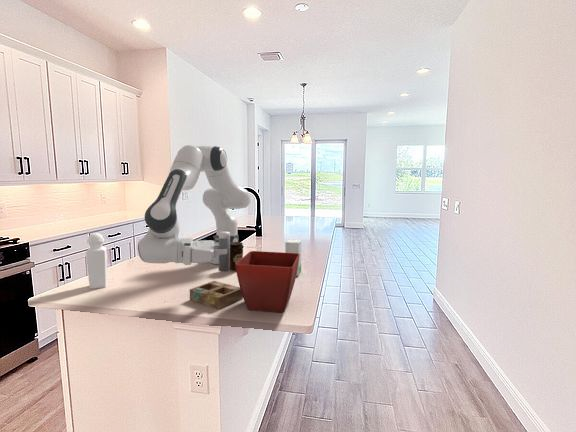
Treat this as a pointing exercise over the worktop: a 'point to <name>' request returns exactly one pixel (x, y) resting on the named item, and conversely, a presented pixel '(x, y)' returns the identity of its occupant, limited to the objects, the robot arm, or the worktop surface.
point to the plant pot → (267, 279)
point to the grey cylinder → (225, 244)
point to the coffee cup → (235, 254)
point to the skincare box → (294, 251)
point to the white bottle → (96, 261)
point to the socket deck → (216, 294)
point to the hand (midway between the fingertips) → (226, 249)
